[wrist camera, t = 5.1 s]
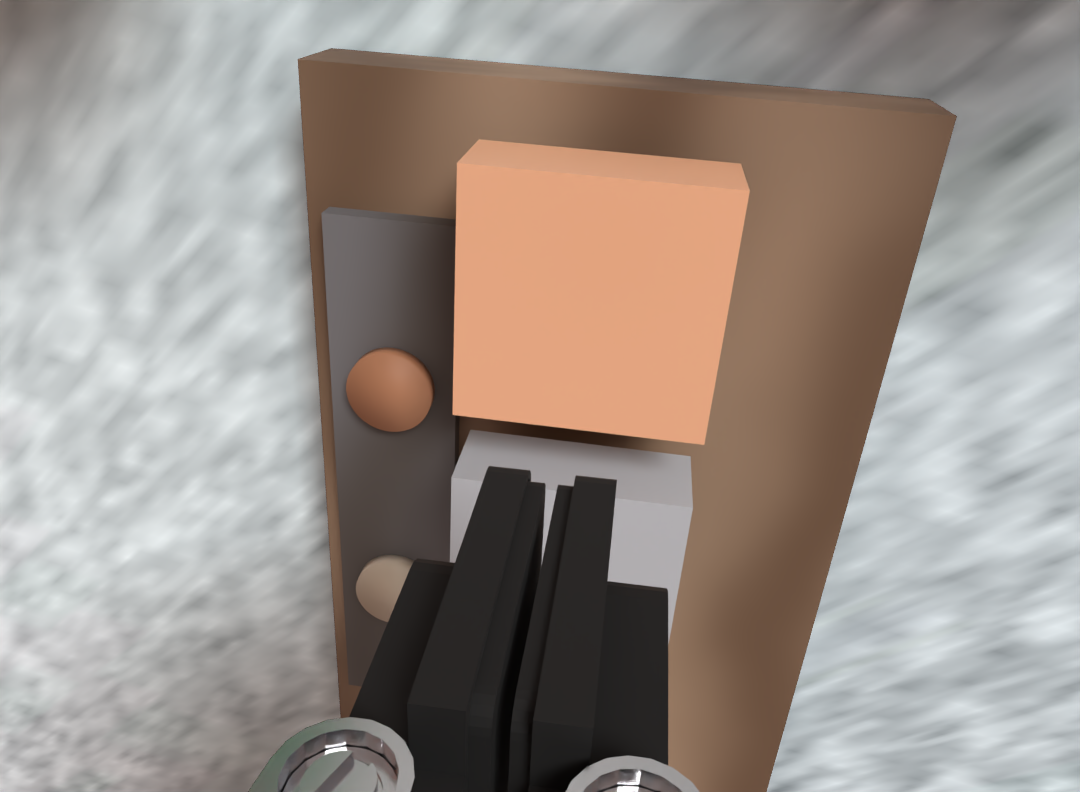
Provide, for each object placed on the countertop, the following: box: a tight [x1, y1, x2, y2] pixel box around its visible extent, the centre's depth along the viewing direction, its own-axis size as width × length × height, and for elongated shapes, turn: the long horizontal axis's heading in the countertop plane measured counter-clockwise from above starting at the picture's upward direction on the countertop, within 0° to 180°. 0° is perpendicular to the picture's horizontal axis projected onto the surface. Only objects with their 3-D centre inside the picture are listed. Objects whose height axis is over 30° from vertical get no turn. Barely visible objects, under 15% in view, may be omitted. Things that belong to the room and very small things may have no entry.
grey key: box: [450, 430, 693, 644], centre depth 20 cm, size 5×5×2 cm
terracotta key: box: [453, 139, 750, 445], centre depth 17 cm, size 5×5×2 cm
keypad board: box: [298, 48, 957, 792], centre depth 22 cm, size 13×20×3 cm, turn 176°
